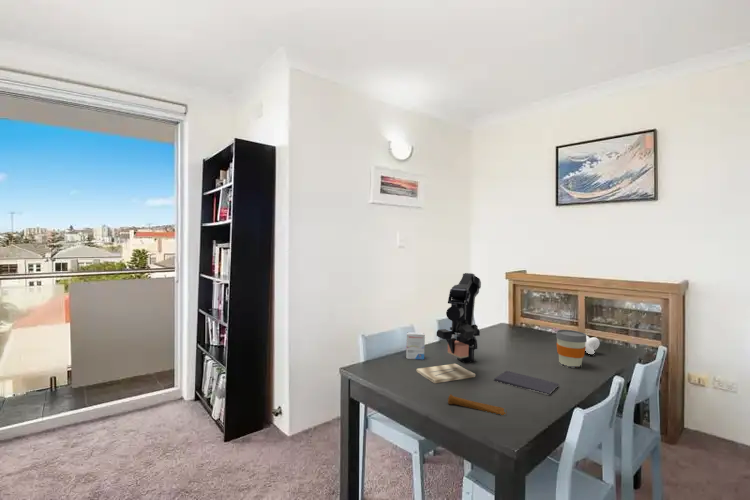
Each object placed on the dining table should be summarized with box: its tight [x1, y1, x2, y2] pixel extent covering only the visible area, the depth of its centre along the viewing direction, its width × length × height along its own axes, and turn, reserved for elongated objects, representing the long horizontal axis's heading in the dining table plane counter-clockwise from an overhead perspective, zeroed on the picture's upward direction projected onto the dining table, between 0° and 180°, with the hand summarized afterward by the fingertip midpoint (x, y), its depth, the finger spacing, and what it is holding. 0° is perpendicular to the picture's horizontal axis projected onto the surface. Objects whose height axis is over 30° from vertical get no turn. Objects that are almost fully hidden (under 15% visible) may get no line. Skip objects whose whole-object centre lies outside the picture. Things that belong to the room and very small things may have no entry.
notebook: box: [493, 370, 560, 394], centre depth 149 cm, size 13×2×21 cm
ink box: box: [405, 331, 426, 360], centre depth 179 cm, size 9×5×12 cm, turn 84°
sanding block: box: [447, 340, 469, 358], centre depth 160 cm, size 4×8×5 cm, turn 29°
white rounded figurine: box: [585, 334, 601, 355], centre depth 192 cm, size 11×12×9 cm
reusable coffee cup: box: [555, 329, 587, 366], centre depth 173 cm, size 13×13×15 cm
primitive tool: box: [447, 394, 507, 416], centre depth 126 cm, size 19×6×4 cm, turn 72°
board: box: [416, 363, 476, 384], centre depth 157 cm, size 20×14×1 cm
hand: (457, 352), depth 160 cm, fingers closed on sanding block, 5 cm apart
